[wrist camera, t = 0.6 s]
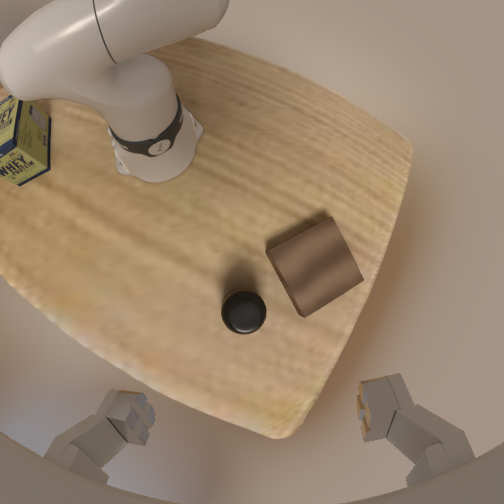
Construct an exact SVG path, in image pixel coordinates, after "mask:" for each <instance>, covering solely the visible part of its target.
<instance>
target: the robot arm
mask: <svg viewBox="0 0 504 504" xmlns="http://www.w3.org/2000/svg"><path fill="white" fill-rule="evenodd" d="M228 4H229V0H54V1H52V2H50V3H49V4H47V5H45V6H44V7H42V8H40V9H38V10H37V11H35V12H34V13H33V14H32V15H31V16H29V17H28V18H27V19H26V20H25V21H23V23H21V24H20V25H19V26H18V27H17V28H16V29H15V30H14V31H13V32H12V33H11V34H10V35H9V36H8V37H7V38H6V39H5V40H4V42H3V44H2V46H1V49H0V81H1V83H2V85H3V87H4V88H5V90H6V91H7V92H8V93H9V94H11V95H12V96H13V97H15V98H17V99H19V100H22V101H32V100H39V99H62V100H68V101H72V102H76V103H80V104H83V105H85V106H88V107H90V108H92V109H94V110H95V111H96V112H98V113H99V114H100V116H101V117H102V118H103V119H104V120H105V121H106V123H107V124H108V125H109V126H108V127H107V130H108V133H109V136H110V137H112V136H113V140H111V144H112V147H114V151H115V158H116V165H117V170H118V172H119V173H120V174H121V175H132V176H135V177H137V178H139V179H141V180H143V181H147V182H163V181H167V180H170V179H172V178H174V177H176V176H178V175H179V174H180V173H182V172H183V171H184V170H185V169H186V168H187V167H188V166H189V164H190V163H191V161H192V159H193V157H194V154H195V150H196V145H197V142H198V140H199V139H200V138H201V136H202V134H203V132H204V129H203V127H202V125H201V124H200V123H199V122H198V121H197V120H196V119H195V118H194V117H193V116H192V114H191V113H190V112H189V111H188V110H187V109H186V108H185V107H184V106H183V105H182V104H181V101H180V100H179V97H178V95H177V94H176V93H175V89H174V84H173V80H172V75H171V72H170V70H169V68H168V67H167V66H166V65H165V64H164V63H163V62H162V61H161V60H159V59H158V58H156V57H154V56H152V55H149V54H144V53H146V52H149V51H152V50H155V49H158V48H161V47H165V46H168V45H172V44H175V43H178V42H180V41H183V40H185V39H187V38H190V37H192V36H195V35H197V34H199V33H202V32H204V31H207V30H209V29H212V28H214V27H216V26H217V24H218V23H219V22H220V21H221V19H222V18H223V16H224V14H225V13H226V10H227V8H228ZM195 126H196V127H195ZM121 163H122V164H121ZM358 390H359V395H358V396H357V401H356V403H357V413H358V419H359V420H361V421H362V425H361V431H362V436H363V440H364V442H368V441H374V440H378V439H382V438H386V439H387V440H388V441H389V442H391V444H393V445H394V446H395V447H396V448H397V449H398V450H399V451H401V452H402V453H403V454H404V455H405V456H406V457H407V458H408V459H410V460H411V461H412V462H413V463H415V466H414V468H413V469H412V470H411V472H410V473H409V474H408V476H407V477H406V481H407V486H408V487H406V488H403V489H400V490H397V491H393V492H390V493H386V494H383V495H379V496H375V497H371V498H367V499H362V500H357V501H353V502H347V503H341V504H504V442H503V443H501V444H500V445H498V446H497V447H495V448H493V449H492V450H490V451H488V452H486V453H484V454H483V455H481V456H479V457H477V458H475V456H474V454H473V451H472V449H471V447H470V444H469V442H468V440H467V438H466V435H465V433H464V431H462V430H461V429H459V428H457V427H455V426H454V425H452V424H450V423H449V422H447V421H445V420H443V419H442V418H440V417H438V416H437V415H435V414H433V413H432V412H430V411H428V410H427V409H425V408H423V407H422V406H420V405H418V404H417V405H414V403H413V401H412V398H411V396H410V394H409V391H408V389H407V387H406V385H405V383H404V380H403V378H402V376H401V374H399V373H397V374H393V375H389V376H384V377H380V378H375V379H371V380H366V381H361V382H360V383H359V386H358ZM146 401H147V397H146V396H145V394H144V393H140V392H132V391H125V390H118V389H111V390H109V391H108V393H107V395H106V396H105V398H104V400H103V402H102V403H101V405H100V407H99V409H98V410H97V412H96V414H95V415H91V416H89V417H88V418H86V419H84V420H83V421H81V422H79V423H78V424H76V425H75V426H73V427H71V428H70V429H69V430H66V431H65V432H63V433H62V434H60V435H58V436H56V437H55V439H54V440H53V442H52V444H51V446H50V447H49V449H48V451H47V452H46V454H45V456H44V457H42V456H40V455H38V454H36V453H35V452H33V451H31V450H29V449H28V448H26V447H24V446H23V445H21V444H19V443H18V442H16V441H14V440H13V439H11V438H10V437H8V436H7V435H5V434H4V433H2V432H0V504H181V503H175V502H170V501H165V500H160V499H156V498H151V497H147V496H143V495H139V494H136V493H132V492H128V491H125V490H122V489H118V488H116V487H113V486H109V485H107V484H106V483H107V481H108V478H109V477H108V474H107V473H105V472H104V471H103V470H102V469H101V468H102V467H103V466H104V465H105V464H106V463H108V462H109V461H110V460H111V459H112V458H113V457H114V456H116V454H118V453H119V452H120V451H121V450H122V449H123V448H125V447H126V445H128V443H130V444H136V445H142V446H145V445H146V443H147V440H148V437H149V435H150V433H149V431H148V429H149V428H151V427H152V426H153V424H154V422H155V412H154V409H153V407H152V405H150V404H149V403H147V402H146Z"/></svg>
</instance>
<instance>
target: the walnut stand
mask: <svg viewBox="0 0 504 504" xmlns="http://www.w3.org/2000/svg"><path fill="white" fill-rule="evenodd" d="M265 253H266V254H267V256H268V258H269V260H270V262H271V264H272V266H273V267H274V269H275V271H276V273H277V275H278V277H279V279H280V281H281V282H282V284H283V286H284V288H285V290H286V292H287V294H288V296H289V297H290V299H291V301H292V303H293V305H294V307H295V309H296V311H297V313H298V314H299V315H300V316H302V317H304V318H305V317H307V316H309V315H310V314H312V313H314V312H315V311H317V310H318V309H320V308H322V307H323V306H325V305H326V304H328V303H330V302H331V301H333V300H334V299H336V298H338V297H339V296H341V295H342V294H344V293H345V292H347V291H348V290H350V289H351V288H353V287H354V286H356V285H357V284H359V283H360V282H362V281H363V280H364V279H363V277H362V275H361V273H360V271H359V268H358V266H357V264H356V262H355V260H354V258H353V256H352V254H351V252H350V250H349V248H348V246H347V244H346V242H345V240H344V238H343V237H342V235H341V233H340V231H339V229H338V227H337V225H336V223H335V221H334V220H333V218H332V216H331V217H330V218H328V219H326V220H324V221H322V222H320V223H319V224H317V225H315V226H313V227H311V228H309V229H307V230H306V231H304V232H302V233H300V234H298V235H296V236H295V237H293V238H291V239H289V240H287V241H285V242H283V243H282V244H280V245H278V246H276V247H274V248H272V249H270V250H269V251H267V252H265Z"/></svg>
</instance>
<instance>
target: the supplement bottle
mask: <svg viewBox="0 0 504 504" xmlns="http://www.w3.org/2000/svg"><path fill="white" fill-rule="evenodd" d="M221 315H222V319H223V322H224V324H225V325H226V326H227V328H228V329H230V330H231V331H233V332H235V333H237V334H250V333H253V332H255V331H257V330H258V329H259V328H260V327H261V326H262V325H263V323H264V321H265V319H266V306H265V303H264V301H263V300H262V298H261V297H260V296H259V295H258V294H256V293H254V292H253V291H251V290H248V289H244V288H239V289H235V290H233V291H231V292H230V293H228V294H227V296H226V297H225V299H224V301H223V304H222V309H221Z"/></svg>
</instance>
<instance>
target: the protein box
mask: <svg viewBox="0 0 504 504" xmlns="http://www.w3.org/2000/svg"><path fill="white" fill-rule="evenodd" d="M50 134H51V118H50V117H49V116H48V115H47V114H46V113H45V112H44V111H43V110H42V109H41V108H40V107H39V106H38V105H37V104H36V103H35V102H34V100H32V101H22V100H19V99H17V98H15V97H13V96H12V95H10V96H8V97H7V98H6V99H4V100H3V101H1V102H0V177H2V178H4V179H6V180H8V181H10V182H12V183H14V184H16V185H18V186H21V185H23V184H25V183H27V182H28V181H30V180H32V179H34V178H36V177H38V176H40V175H41V174H43V173H45V172H47V171H49V170H50Z"/></svg>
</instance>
